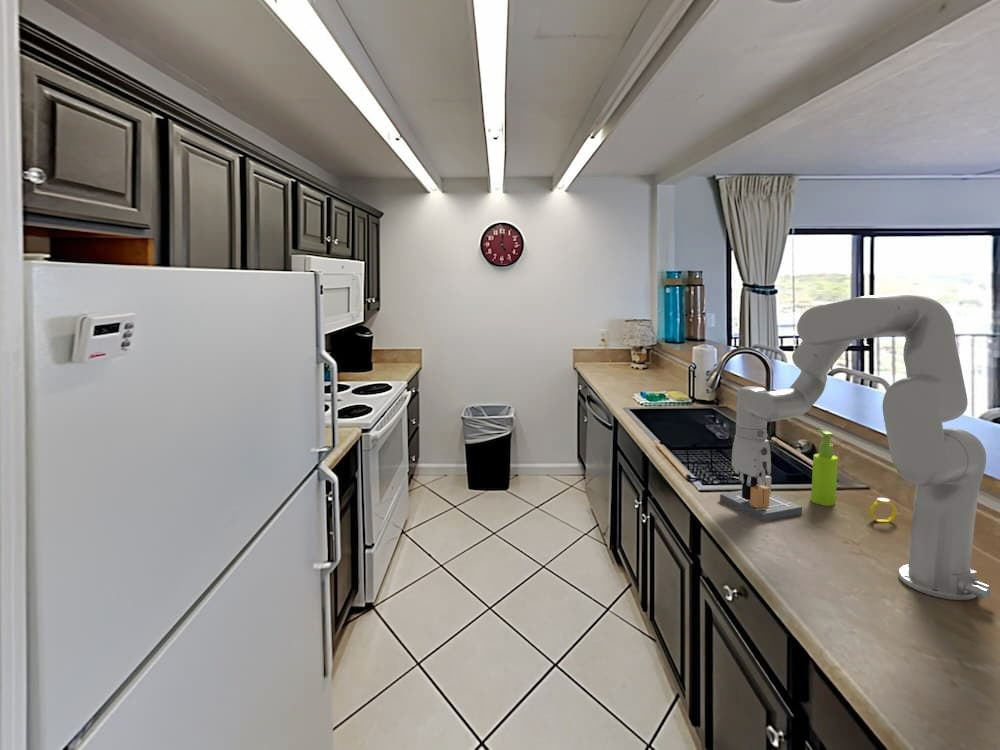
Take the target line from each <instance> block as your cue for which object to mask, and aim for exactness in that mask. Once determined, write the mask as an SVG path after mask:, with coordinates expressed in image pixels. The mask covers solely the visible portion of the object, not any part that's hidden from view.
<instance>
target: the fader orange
mask: <svg viewBox="0 0 1000 750" xmlns="http://www.w3.org/2000/svg"><path fill="white" fill-rule="evenodd" d="M769 495H770V488H769V487H766V486H764V485H760V486H754V487H751V496H750V505H751V506H753V507H755V508H761V507H766V506H769Z"/></svg>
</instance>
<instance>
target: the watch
mask: <svg viewBox="0 0 1000 750" xmlns="http://www.w3.org/2000/svg"><path fill="white" fill-rule="evenodd" d="M881 504H882V505H883V504H884V505H890V506H891V510H892V511H891V514H890V516H888V518H885V519H884V518H883V519H877V518H876V517H875V515H874V513H875V512H874V511H875V509H876V508H877V506H879V505H881ZM868 514H869V516H870V517H871V519H872V520H873V521H875V522H876V523H878V524H879V523H891V522H893V521H894V520H895V518H897V514H898V510H897V507H896V505H895V504H894V503H893V502H891V500H890V499H889V498H886V497H877V498H876V500H875V501H873V502H872V503H871V505H870V506H869V510H868Z"/></svg>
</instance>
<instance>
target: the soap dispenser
mask: <svg viewBox="0 0 1000 750" xmlns="http://www.w3.org/2000/svg"><path fill="white" fill-rule="evenodd" d="M816 433H820V434H822V441H821V442H819V444H818V453H815V454H813V456H812V457H813V459H812V475H811V476H812V478H811V479H812V480H811V491H810V493H811V496H810V501H811V502H812V503H814V504H815V505H816V504H817V505H820V506H827V507H828V506H829V507H830V506H831V507H832V506H834V505H836V499H837V498H836V497H837V496H836V495H837V484H838V483H837V480H838V478H837V477H838V463H839V457H838V456H836V455H834V444H833V443H831V437H833V436H834V433H833V432H831V431H829V430H827V429H816Z"/></svg>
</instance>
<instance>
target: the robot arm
mask: <svg viewBox="0 0 1000 750" xmlns="http://www.w3.org/2000/svg"><path fill="white" fill-rule="evenodd" d="M796 330H797V331H796V332H797V335H798V336H799V338H800V340H801V342H800V343H799V345H798V346H797V348H796V349H795V350H794V351H793V353H792V356H791V358H792V359H791V360H792V362H793V364H794V365H795V366H796V367H797V368H798V369H799V370H800V373H799V375H798V377H796V379H795V381H794V382H793V383H792V384H791V385H790V387H788V388H783V389H775V390H769V391H768V390H767V389H766V388H764V387H761V386H752V385H751V386H750V385H749V386H741V387H739V388H738V390H737V392H736V412H735V413H736V418H735V419H736V420H735V435H734V440H733V443H732V448H731V449H732V451H731V467H732V468H733V472H734V473H735V474H737V475H738V476H739V479H740V483H741V486H742V487H741V490H742V498H744V499H746V500H750V496H751V487H754V486H756V485H758V483H764V482H766V476H771V473H772V460H771V459H772V454H771V448H770V441H769V439H767V437H768V436H769V434H768V433H767V432H768V430H767V428H768V427H767V426H768V422H775V421H776V422H777V421H783V420H785V419H787V420H788V419H792V418H798V417H801V416H803V415H804V414H806V413H807V412H808V411H809V410H811V408H812V407H813V406H814V404H816V402H817V401H818V400H819V398H821V396H822V395H823V394H824V391H825V389H826V384H827V381H828V372H829V371H830V370H831V368H832V367H833V366H834V365H835V363H836V362H837V361H838V360H839V359H840V358H841V356H842V355H843V353H844V352H845V351H846V350H847V349H848V348H849V347H850V346H851V344H853V341H856V340H864V339H865V340H866V339H873V338H882V337H890V336H891V337H892V336H903V337H905V342H904V345H903V355H902V356H903V362H904V365H905V372H906V377H905V378H901V379H898V380H897V381H895V382H894V383H892V384H891V385H890V386H889V387H888V388H887V390H886V391H885V394H884V396H883V400H882V414H883V415H882V416H883V422H884V426H885V431H886V437H887V442H888V443H887V444H888V447H889V449H888V450H889V453H890V458H891V462H892V465H893V466H894V469H895V471H896V472H897V473H898V475H899V476H900V477H901V478H902V479H904V480H905V481H906V482H908V483H910V484H912V485H915V492H914V497H913V506H912V508H913V510H912V522H911V533H910V534H911V535H910V545H909V557H908V564H903V565H902V566H901V567H899V568H898V573H897V574H898V578H899V579H900V580H901V582H903V583H904V584H905V585H907V586H908V587H910V588H912V589H914V590H916V591H918V592H920V593H922V594H924V595H925V594H926V595H929V596H933V597H935V598H940V599H944V600H945V599H946V600H952V601H969V600H973V599H975V598H977V597H978V598H980V599H982V600H984V601H987V600H989V598H990V596H991V591H992V586H991V585H988V584H986V583H984V582H982V581H979V580H978V578H977V571H976V570H974V569H971V565H972V553H973V545H974V544H973V541H974V533H975V524H976V523H975V521H976V516H977V506H978V499H979V498H978V497H979V493H980V488H981V484H982V480H983V476H984V474H985V470H986V465H987V453H986V448H985V446H984V444H983V443H982V442H981V440H979V438H978V437H976V436H975V435H974V434H973V433H971V432H969V431H967V430H965V429H959V428H952V427H951V428H944V427H943V424H944V423H947V422H950V421H953V420H956V419H958V418H961V416H962V415H963V414H964V413H965V412H966V411H967V408H968V405H969V403H968V395H967V394H968V393H967V391H966V385H965V381H964V375H963V370H962V365H961V360H960V357H959V356H960V355H959V352H958V346H957V340H956V339H957V338H956V333H955V328H954V323H953V319H952V316H951V314H950V313H949V311H948V310H947V309H946V307H945V306H944V305H943V304H941V303H940V302H939V301H937V300H935V299H933V298H931V297H928V296H924V295H919V294H915V293H914V294H912V293H889V294H873V295H864V296H863V295H862V296H858V297H853V298H850V299H845V300H840V301H837V302H832V303H826V304H820V305H815V306H813V307H810V308H808V309H807V310H806V311H805V312H803V313H802V314H801V316H800V317H799V318H798V321H797V325H796Z"/></svg>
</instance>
